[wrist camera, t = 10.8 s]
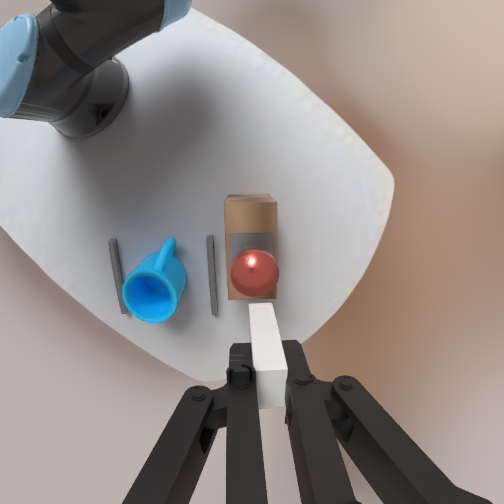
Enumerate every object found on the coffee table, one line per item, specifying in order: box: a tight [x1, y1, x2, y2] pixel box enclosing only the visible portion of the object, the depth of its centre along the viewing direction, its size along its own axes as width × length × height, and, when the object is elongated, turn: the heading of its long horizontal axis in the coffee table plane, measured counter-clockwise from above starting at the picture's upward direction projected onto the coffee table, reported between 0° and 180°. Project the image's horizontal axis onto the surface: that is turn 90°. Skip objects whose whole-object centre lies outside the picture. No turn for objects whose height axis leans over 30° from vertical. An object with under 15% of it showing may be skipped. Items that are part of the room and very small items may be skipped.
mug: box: [122, 237, 187, 323], centre depth 40 cm, size 12×8×8 cm
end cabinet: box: [224, 194, 277, 300], centre depth 38 cm, size 6×12×11 cm, turn 1°
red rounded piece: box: [230, 244, 279, 297], centre depth 29 cm, size 5×5×6 cm
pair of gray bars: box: [108, 235, 217, 315], centre depth 43 cm, size 13×17×2 cm
